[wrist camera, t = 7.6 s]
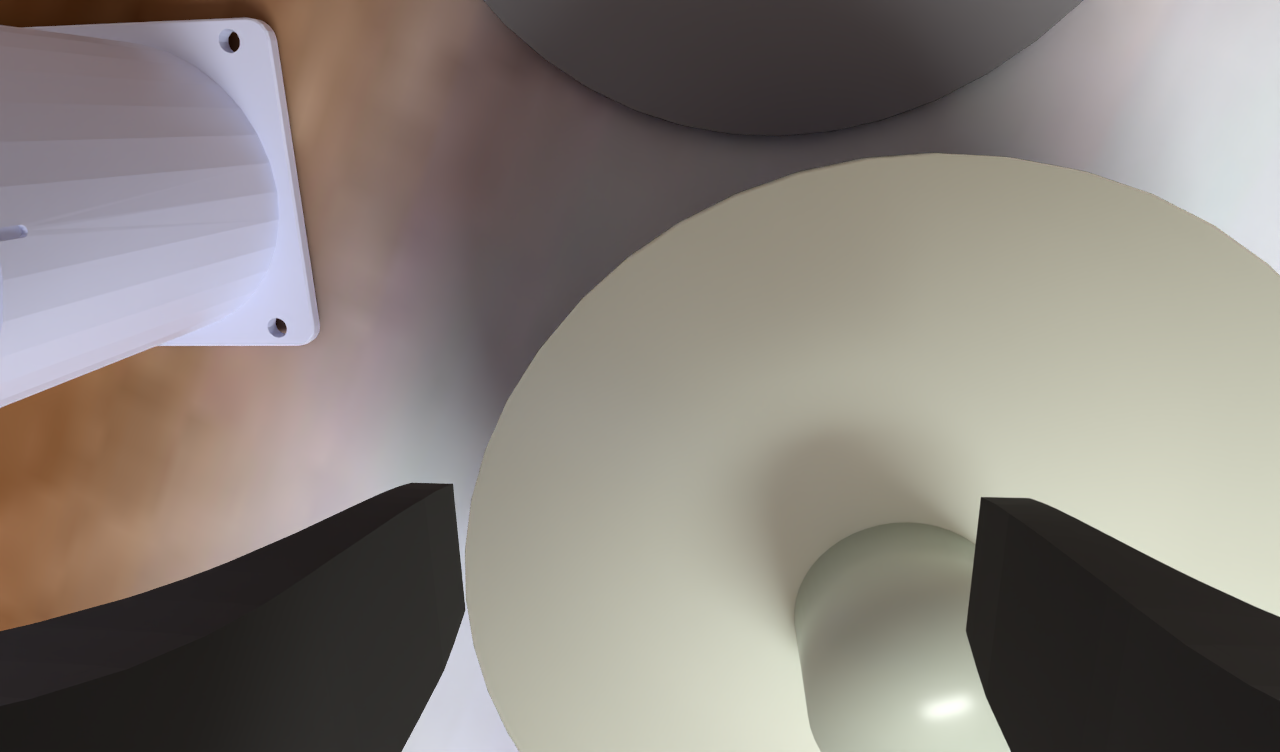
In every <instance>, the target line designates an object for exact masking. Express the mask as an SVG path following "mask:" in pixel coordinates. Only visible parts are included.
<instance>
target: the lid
mask: <svg viewBox="0 0 1280 752" xmlns="http://www.w3.org/2000/svg"><path fill="white" fill-rule="evenodd" d="M981 497H1004V498H1031V499H1034V500H1036V501H1039V502H1042V503H1044V504H1047V505H1049V506H1051V507H1054V508H1056V509H1058V510H1060V511H1062V512H1064V513H1066V514H1068V515H1070V516H1072V517H1074V518H1076V519H1078V520H1080V521H1082V522H1084V523H1086V524H1088V525H1090V526H1092V527H1094V528H1096V529H1098V530H1100V531H1102V532H1103V533H1105V534H1107V535H1109V536H1111V537H1113V538H1115V539H1117V540H1119V541H1121V542H1123V543H1125V544H1127V545H1129V546H1130V547H1132V548H1134V549H1136V550H1138V551H1140V552H1142V553H1144V554H1146V555H1148V556H1150V557H1152V558H1154V559H1156V560H1158V561H1160V562H1162V563H1164V564H1166V565H1168V566H1170V567H1172V568H1174V569H1176V570H1178V571H1180V572H1182V573H1184V574H1186V575H1188V576H1190V577H1192V578H1194V579H1196V580H1198V581H1201V582H1203V583H1205V584H1207V585H1209V586H1212V587H1214V588H1216V589H1218V590H1220V591H1222V592H1225V593H1227V594H1229V595H1231V596H1233V597H1236V598H1238V599H1240V600H1242V601H1244V602H1246V603H1249V604H1251V605H1253V606H1255V607H1258V608H1260V609H1262V610H1265V611H1267V612H1269V613H1272V614H1274V615H1277V616H1279V617H1280V275H1279V274H1278V273H1277V272H1276V271H1275V270H1274V269H1273V268H1272V267H1271V266H1270V265H1269V264H1267V263H1266V262H1264V261H1263V260H1262V259H1260V258H1259V257H1257V256H1256V255H1255V254H1253V253H1252V252H1250V251H1249V250H1248V249H1246V248H1245V247H1243V246H1242V245H1241V244H1239V243H1238V242H1237V241H1235V240H1234V239H1232V238H1231V237H1230V236H1228V235H1227V234H1225V233H1224V232H1223V231H1221V230H1220V229H1218V228H1217V227H1216V226H1214V225H1212V224H1210V223H1208V222H1206V221H1204V220H1202V219H1201V218H1199V217H1197V216H1195V215H1193V214H1191V213H1189V212H1187V211H1185V210H1183V209H1181V208H1179V207H1177V206H1175V205H1173V204H1171V203H1169V202H1167V201H1165V200H1163V199H1161V198H1159V197H1157V196H1155V195H1153V194H1151V193H1148V192H1145V191H1142V190H1139V189H1136V188H1133V187H1130V186H1127V185H1124V184H1121V183H1118V182H1115V181H1112V180H1109V179H1106V178H1104V177H1101V176H1098V175H1095V174H1092V173H1089V172H1085V171H1080V170H1075V169H1070V168H1064V167H1059V166H1054V165H1049V164H1043V163H1038V162H1033V161H1027V160H1022V159H1017V158H1009V157H1001V156H985V155H966V154H947V153H921V154H908V155H895V156H883V157H870V158H861V159H856V160H852V161H847V162H842V163H838V164H833V165H828V166H823V167H819V168H814V169H809V170H804V171H800V172H796V173H793V174H790V175H788V176H785V177H782V178H779V179H776V180H773V181H771V182H768V183H765V184H762V185H759V186H756V187H753V188H751V189H748V190H745V191H742V192H739V193H736V194H734V195H732V196H730V197H728V198H726V199H724V200H722V201H720V202H718V203H716V204H714V205H712V206H710V207H708V208H707V209H705V210H703V211H701V212H699V213H697V214H695V215H693V216H691V217H689V218H687V219H685V220H683V221H681V222H679V223H677V224H676V225H674V226H673V227H671V228H670V229H669V230H667V231H666V232H664V233H663V234H661V235H660V236H658V237H657V238H655V239H654V240H652V241H651V242H649V243H648V244H647V245H645V246H644V247H642V248H641V249H639V250H638V251H636V252H635V253H633V254H632V255H630V256H629V257H628V258H626V259H625V260H624V261H623V262H622V263H621V264H620V265H619V266H618V267H616V268H615V269H614V270H613V271H612V272H611V273H610V274H609V275H608V276H606V277H605V278H604V279H603V280H602V281H601V282H600V283H599V284H598V285H596V286H595V287H594V288H593V289H592V290H591V291H590V292H589V293H588V294H586V295H585V296H584V297H583V298H582V300H581V301H580V302H579V303H578V304H577V305H576V307H575V308H574V309H573V310H572V311H571V313H570V314H569V315H568V316H567V317H566V318H565V320H564V321H563V322H562V323H561V324H560V326H559V327H558V328H557V329H556V330H555V331H554V333H553V334H552V335H551V336H550V337H549V339H548V340H547V341H546V342H545V343H544V345H543V346H542V347H541V348H540V350H539V351H538V352H537V354H536V356H535V357H534V359H533V360H532V362H531V363H530V365H529V367H528V368H527V370H526V371H525V373H524V375H523V376H522V378H521V379H520V381H519V383H518V384H517V386H516V387H515V389H514V390H513V392H512V394H511V395H510V397H509V398H508V400H507V402H506V405H505V407H504V409H503V411H502V414H501V416H500V418H499V420H498V423H497V425H496V427H495V429H494V432H493V434H492V436H491V438H490V441H489V443H488V445H487V447H486V450H485V453H484V457H483V460H482V464H481V467H480V471H479V474H478V478H477V482H476V485H475V489H474V492H473V496H472V499H471V507H470V515H469V522H468V530H467V538H466V546H465V575H466V602H467V608H468V614H469V620H470V626H471V632H472V638H473V644H474V648H475V652H476V655H477V658H478V661H479V664H480V667H481V671H482V674H483V677H484V680H485V683H486V686H487V690H488V692H489V694H490V696H491V699H492V701H493V703H494V705H495V707H496V709H497V711H498V713H499V715H500V718H501V720H502V722H503V724H504V726H505V728H506V730H507V732H508V734H509V736H510V737H511V739H512V740H513V742H514V744H515V745H516V747H517V748H518V750H519V751H520V752H1011V751H1010V749H1009V746H1008V744H1007V742H1006V740H1005V738H1004V736H1003V734H1002V731H1001V729H1000V727H999V725H998V723H997V721H996V718H995V716H994V714H993V712H992V710H991V707H990V705H989V703H988V701H987V699H986V696H985V693H984V690H983V687H982V684H981V680H980V677H979V674H978V671H977V668H976V665H975V661H974V658H973V654H972V651H971V648H970V644H969V641H968V637H967V634H966V623H967V615H968V606H969V597H970V588H971V579H972V571H973V562H974V553H975V544H976V536H977V527H978V518H979V509H980V501H981Z"/></svg>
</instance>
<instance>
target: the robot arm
mask: <svg viewBox="0 0 1280 752" xmlns="http://www.w3.org/2000/svg"><path fill="white" fill-rule="evenodd" d="M232 32H235V33H237V34H238V37H239V39H240V47H239V48H238V50H237V51H236V52H234V51H232V50H231V48H230V46H229V43H228V41H229V36H230V34H231V33H232ZM277 318H278V319H281V320H282V321H283V322H285V324H286V327H287V333H286V334H285V333H282V332H280V331H279V330H278V329H277V327H276V319H277ZM319 332H320V322H319V316H318V309H317V302H316V296H315V289H314V282H313V276H312V269H311V262H310V256H309V249H308V243H307V236H306V229H305V223H304V216H303V209H302V203H301V196H300V189H299V183H298V176H297V170H296V163H295V156H294V150H293V143H292V136H291V130H290V123H289V116H288V110H287V103H286V97H285V90H284V83H283V77H282V70H281V63H280V57H279V50H278V44H277V39H276V36H275V33H274V31H273V30H272V29H271V27H270V26H269V25H268V24H266V23H265V22H263V21H262V20H258V19H253V18H247V17H246V18H223V19H201V20H178V21H156V22H133V23H111V24H88V25H66V26H44V27H21V28H20V27H12V26H5V25H0V408H1V407H3V406H6V405H8V404H11V403H13V402H16V401H18V400H21V399H23V398H26V397H29V396H31V395H34V394H36V393H39V392H41V391H44V390H46V389H49V388H51V387H54V386H56V385H59V384H61V383H64V382H66V381H69V380H71V379H74V378H77V377H79V376H82V375H84V374H87V373H89V372H92V371H94V370H97V369H99V368H102V367H104V366H107V365H109V364H112V363H114V362H117V361H119V360H122V359H124V358H127V357H130V356H132V355H135V354H137V353H140V352H142V351H145V350H147V349H150V348H152V347H155V346H300V345H305V344H307V343H309V342H311V341H312V340H314V339H315V338H316V337H317V336H318V334H319ZM464 612H465V602H464V592H463V582H462V572H461V562H460V552H459V542H458V532H457V522H456V512H455V502H454V492H453V484H435V483H409V484H406V485H402V486H399V487H396V488H394V489H391V490H389V491H386V492H384V493H381V494H379V495H377V496H374V497H372V498H370V499H368V500H366V501H363V502H361V503H359V504H357V505H355V506H353V507H350V508H348V509H346V510H344V511H342V512H340V513H338V514H336V515H333V516H331V517H329V518H327V519H325V520H323V521H321V522H319V523H316V524H314V525H312V526H310V527H308V528H306V529H304V530H301V531H299V532H297V533H295V534H293V535H290V536H288V537H286V538H283V539H281V540H279V541H276V542H274V543H272V544H270V545H267V546H265V547H263V548H260V549H258V550H256V551H253V552H251V553H249V554H246V555H244V556H242V557H239V558H237V559H235V560H232V561H230V562H228V563H225V564H223V565H220V566H218V567H215V568H212V569H210V570H207V571H205V572H202V573H199V574H196V575H194V576H191V577H188V578H186V579H183V580H180V581H177V582H174V583H171V584H168V585H165V586H162V587H159V588H156V589H153V590H150V591H147V592H145V593H141V594H138V595H135V596H132V597H129V598H125V599H122V600H118V601H115V602H111V603H107V604H104V605H100V606H97V607H93V608H89V609H86V610H82V611H78V612H75V613H71V614H67V615H64V616H60V617H57V618H53V619H49V620H46V621H42V622H38V623H34V624H30V625H26V626H22V627H17V628H13V629H9V630H4V631H0V752H402V750H403V748H404V746H405V744H406V742H407V740H408V738H409V737H410V735H411V733H412V731H413V729H414V727H415V725H416V723H417V722H418V720H419V718H420V716H421V714H422V712H423V710H424V708H425V706H426V704H427V702H428V701H429V699H430V697H431V695H432V693H433V691H434V689H435V687H436V685H437V683H438V681H439V679H440V677H441V675H442V673H443V671H444V669H445V666H446V664H447V661H448V658H449V656H450V653H451V650H452V648H453V645H454V642H455V639H456V636H457V633H458V630H459V627H460V624H461V621H462V618H463V615H464ZM966 634H967V637H968V641H969V644H970V648H971V651H972V654H973V658H974V661H975V665H976V668H977V671H978V674H979V677H980V680H981V684H982V687H983V690H984V693H985V696H986V699H987V701H988V703H989V705H990V707H991V710H992V712H993V714H994V716H995V718H996V721H997V723H998V725H999V727H1000V729H1001V731H1002V734H1003V736H1004V738H1005V740H1006V742H1007V744H1008V746H1009V749H1010V751H1011V752H1280V617H1279V616H1277V615H1274V614H1272V613H1269V612H1267V611H1265V610H1262V609H1260V608H1258V607H1255V606H1253V605H1251V604H1249V603H1246V602H1244V601H1242V600H1240V599H1238V598H1236V597H1233V596H1231V595H1229V594H1227V593H1225V592H1222V591H1220V590H1218V589H1216V588H1214V587H1212V586H1209V585H1207V584H1205V583H1203V582H1201V581H1198V580H1196V579H1194V578H1192V577H1190V576H1188V575H1186V574H1184V573H1182V572H1180V571H1178V570H1176V569H1174V568H1172V567H1170V566H1168V565H1166V564H1164V563H1162V562H1160V561H1158V560H1156V559H1154V558H1152V557H1150V556H1148V555H1146V554H1144V553H1142V552H1140V551H1138V550H1136V549H1134V548H1132V547H1130V546H1129V545H1127V544H1125V543H1123V542H1121V541H1119V540H1117V539H1115V538H1113V537H1111V536H1109V535H1107V534H1105V533H1103V532H1102V531H1100V530H1098V529H1096V528H1094V527H1092V526H1090V525H1088V524H1086V523H1084V522H1082V521H1080V520H1078V519H1076V518H1074V517H1072V516H1070V515H1068V514H1066V513H1064V512H1062V511H1060V510H1058V509H1056V508H1054V507H1051V506H1049V505H1047V504H1044V503H1042V502H1039V501H1036V500H1034V499H1031V498H1004V497H981V501H980V509H979V518H978V527H977V536H976V544H975V553H974V562H973V571H972V579H971V588H970V597H969V606H968V615H967V623H966Z"/></svg>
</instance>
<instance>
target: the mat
mask: <svg viewBox="0 0 1280 752" xmlns="http://www.w3.org/2000/svg"><path fill="white" fill-rule="evenodd" d="M1082 1H1083V0H484V2H485V3H486V4H487V5H488V6H489V7H490V8H491V9H492V11H493V12H494V13H495V14H496V15H497V16H498V17H499V18H500V20H501V21H502V22H503V23H504V24H505V25H506V26H507V27H508V28H510V29H511V30H512V31H513V32H514V33H515V34H517V35H518V36H519V37H520V38H521V39H522V40H523V41H525V42H526V43H527V44H528V45H529V46H530V47H531V48H533V49H534V50H535V51H536V52H537V53H538V54H540V55H541V56H542V57H543V58H544V59H546V60H547V61H549V62H550V63H552V64H553V65H555V66H556V67H558V68H559V69H561V70H562V71H564V72H565V73H567V74H568V75H570V76H571V77H573V78H574V79H576V80H577V81H579V82H580V83H582V84H583V85H585V86H586V87H588V88H590V89H592V90H594V91H596V92H598V93H600V94H602V95H604V96H606V97H609V98H611V99H613V100H615V101H617V102H619V103H621V104H623V105H625V106H627V107H629V108H631V109H633V110H637V111H640V112H643V113H646V114H649V115H652V116H655V117H658V118H661V119H664V120H667V121H670V122H673V123H677V124H680V125H684V126H690V127H695V128H701V129H707V130H712V131H718V132H723V133H729V134H749V135H773V136H784V135H795V134H806V133H816V132H827V131H835V130H839V129H843V128H848V127H852V126H856V125H861V124H865V123H869V122H874V121H878V120H883V119H886V118H889V117H891V116H894V115H897V114H900V113H902V112H905V111H908V110H910V109H913V108H916V107H919V106H921V105H924V104H927V103H929V102H932V101H935V100H937V99H939V98H941V97H943V96H945V95H947V94H949V93H951V92H953V91H955V90H957V89H959V88H961V87H962V86H964V85H966V84H968V83H970V82H972V81H974V80H976V79H978V78H980V77H982V76H984V75H986V74H988V73H989V72H991V71H992V70H993V69H995V68H996V67H998V66H999V65H1001V64H1002V63H1004V62H1005V61H1007V60H1008V59H1010V58H1011V57H1013V56H1014V55H1016V54H1017V53H1019V52H1020V51H1022V50H1023V49H1025V48H1026V47H1027V46H1029V45H1030V44H1032V43H1033V42H1035V41H1036V40H1038V39H1039V38H1040V37H1041V36H1042V35H1043V34H1045V33H1046V32H1047V31H1048V30H1049V29H1050V28H1052V27H1053V26H1054V25H1055V24H1056V23H1057V22H1059V21H1060V20H1061V19H1062V18H1063V17H1064V16H1066V15H1067V14H1068V13H1069V12H1070V11H1071V10H1073V9H1074V8H1075V7H1076V6H1077V5H1078V4H1080V3H1081V2H1082Z"/></svg>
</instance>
